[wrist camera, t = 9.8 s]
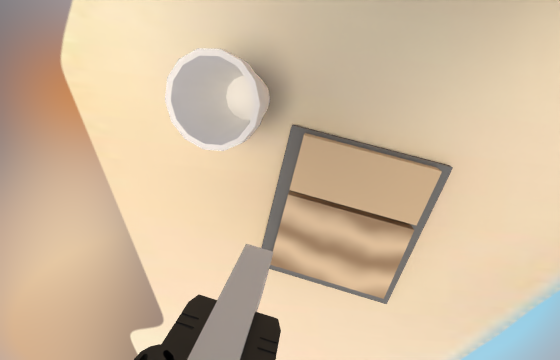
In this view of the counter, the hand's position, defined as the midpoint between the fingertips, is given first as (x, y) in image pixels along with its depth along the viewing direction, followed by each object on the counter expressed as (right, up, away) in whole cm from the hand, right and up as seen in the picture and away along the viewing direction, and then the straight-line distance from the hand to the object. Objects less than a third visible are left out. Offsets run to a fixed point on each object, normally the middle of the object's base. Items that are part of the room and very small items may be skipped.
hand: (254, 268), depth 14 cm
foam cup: (-3, +16, +23) cm, 29 cm away
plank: (+10, -5, +27) cm, 29 cm away
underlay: (+11, -1, +27) cm, 29 cm away
